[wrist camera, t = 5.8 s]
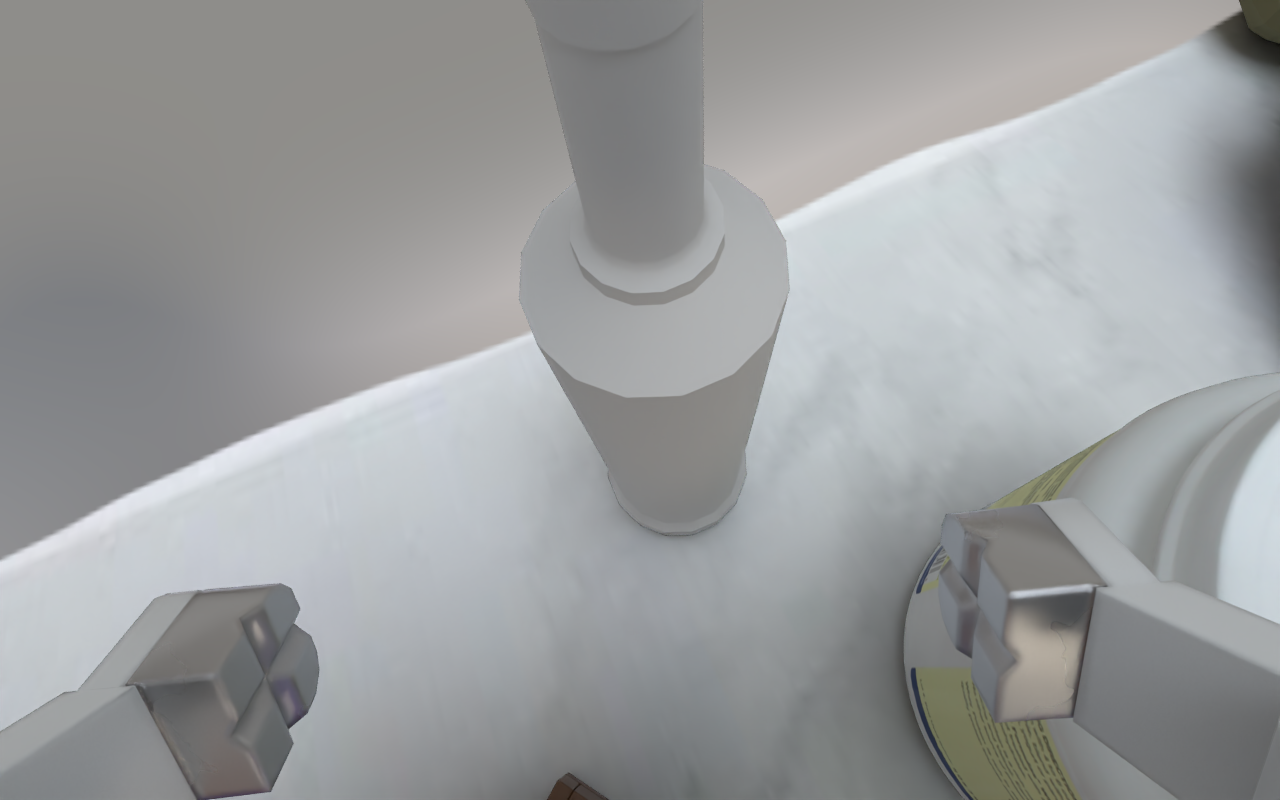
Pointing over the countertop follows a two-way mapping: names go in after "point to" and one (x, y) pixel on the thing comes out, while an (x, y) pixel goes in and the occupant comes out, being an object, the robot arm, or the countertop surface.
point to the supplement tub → (1159, 537)
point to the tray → (573, 790)
